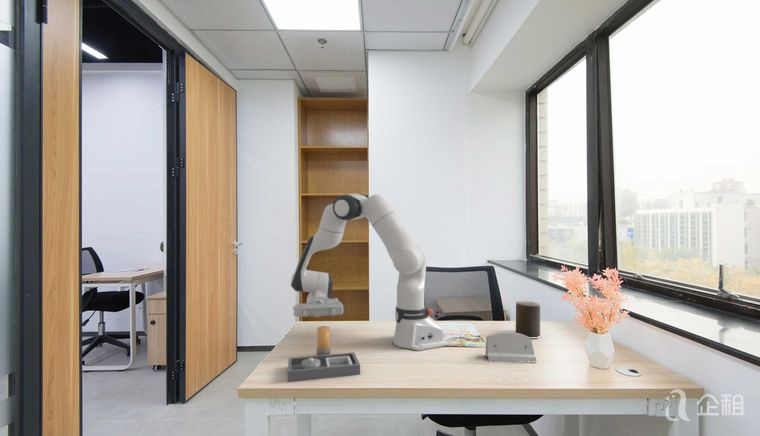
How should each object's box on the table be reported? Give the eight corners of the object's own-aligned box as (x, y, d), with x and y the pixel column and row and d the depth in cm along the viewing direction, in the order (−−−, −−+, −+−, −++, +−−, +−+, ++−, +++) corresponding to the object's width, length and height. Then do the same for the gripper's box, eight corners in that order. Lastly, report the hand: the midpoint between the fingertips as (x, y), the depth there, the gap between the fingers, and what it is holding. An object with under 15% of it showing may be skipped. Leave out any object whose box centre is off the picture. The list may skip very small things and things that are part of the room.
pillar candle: (525, 339, 142) (525, 303, 142) (510, 332, 151) (511, 298, 152) (545, 338, 144) (545, 302, 144) (530, 331, 154) (530, 297, 154)
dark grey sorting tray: (354, 360, 119) (354, 348, 120) (360, 374, 109) (360, 361, 109) (288, 367, 114) (288, 354, 114) (287, 381, 103) (288, 367, 104)
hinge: (487, 361, 120) (485, 330, 123) (485, 360, 124) (483, 331, 128) (537, 363, 118) (534, 332, 122) (533, 362, 123) (530, 333, 126)
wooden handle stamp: (329, 353, 127) (329, 325, 127) (330, 358, 122) (330, 329, 122) (316, 354, 126) (316, 326, 126) (317, 359, 121) (317, 330, 121)
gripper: (293, 299, 147) (293, 307, 133) (341, 298, 152) (345, 305, 138) (292, 314, 147) (292, 323, 133) (340, 312, 152) (345, 321, 138)
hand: (320, 314), depth 136 cm, fingers open, 8 cm apart
